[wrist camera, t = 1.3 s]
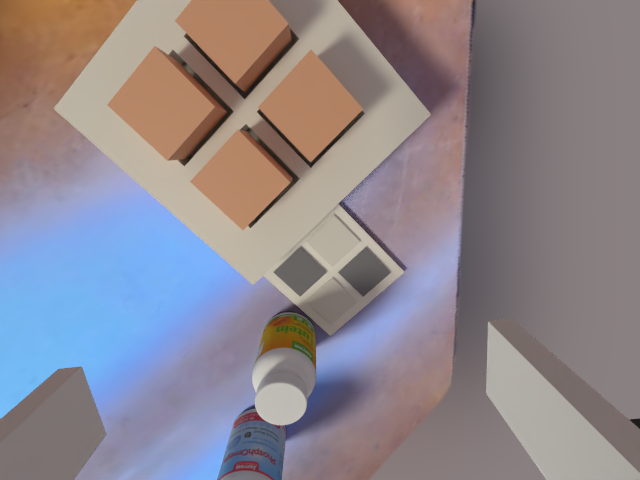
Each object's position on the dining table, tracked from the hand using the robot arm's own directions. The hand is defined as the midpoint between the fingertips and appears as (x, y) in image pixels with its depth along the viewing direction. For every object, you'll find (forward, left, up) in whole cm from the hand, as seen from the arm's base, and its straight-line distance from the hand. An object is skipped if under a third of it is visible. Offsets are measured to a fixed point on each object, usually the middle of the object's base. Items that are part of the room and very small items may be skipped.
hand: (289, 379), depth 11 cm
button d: (-14, 0, -18) cm, 22 cm away
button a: (-7, +7, -18) cm, 20 cm away
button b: (-7, 0, -18) cm, 19 cm away
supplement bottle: (+7, -9, -21) cm, 24 cm away
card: (+5, -1, -21) cm, 22 cm away
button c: (-14, +7, -18) cm, 24 cm away
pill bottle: (+13, -20, -21) cm, 32 cm away
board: (-10, +4, -21) cm, 24 cm away
